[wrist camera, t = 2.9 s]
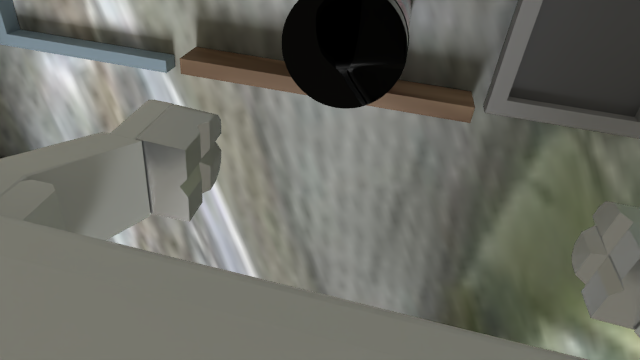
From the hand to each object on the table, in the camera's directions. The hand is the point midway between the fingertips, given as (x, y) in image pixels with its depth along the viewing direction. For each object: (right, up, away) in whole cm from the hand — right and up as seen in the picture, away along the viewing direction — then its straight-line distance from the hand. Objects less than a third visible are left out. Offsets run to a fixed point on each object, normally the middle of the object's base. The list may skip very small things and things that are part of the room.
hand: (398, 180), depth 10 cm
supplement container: (+2, +13, +23) cm, 26 cm away
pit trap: (+17, +10, +21) cm, 29 cm away
